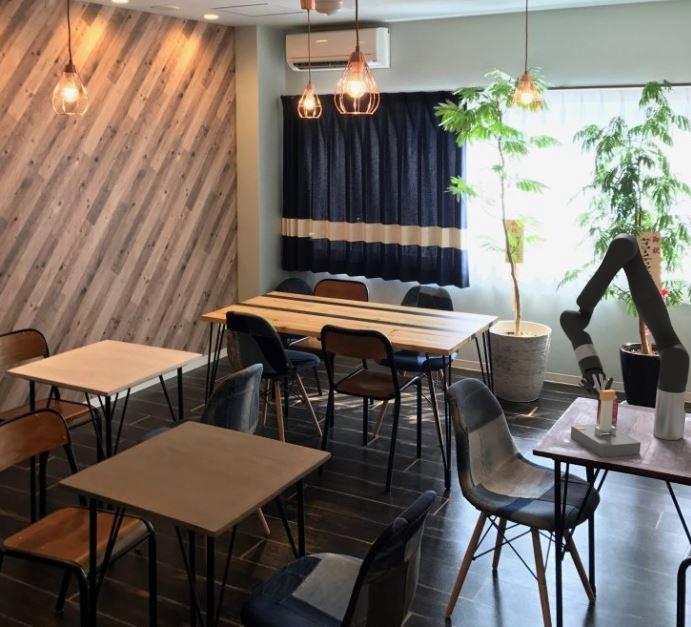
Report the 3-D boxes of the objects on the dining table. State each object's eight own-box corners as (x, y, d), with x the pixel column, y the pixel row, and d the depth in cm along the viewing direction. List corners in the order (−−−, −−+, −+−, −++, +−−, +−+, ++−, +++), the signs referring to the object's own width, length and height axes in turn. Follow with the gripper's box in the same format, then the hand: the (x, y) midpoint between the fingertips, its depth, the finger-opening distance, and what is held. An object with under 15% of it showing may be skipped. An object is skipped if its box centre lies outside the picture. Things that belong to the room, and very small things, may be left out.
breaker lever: (608, 431, 276) (611, 389, 273) (612, 433, 273) (615, 391, 271) (597, 432, 275) (599, 390, 272) (601, 434, 272) (603, 392, 270)
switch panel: (605, 433, 286) (607, 416, 285) (639, 454, 267) (641, 435, 266) (570, 436, 283) (571, 419, 281) (602, 457, 264) (603, 439, 262)
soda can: (600, 422, 298) (603, 391, 295) (619, 427, 293) (621, 395, 291) (592, 427, 292) (595, 396, 290) (611, 432, 288) (614, 400, 286)
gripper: (575, 355, 278) (591, 400, 269) (609, 353, 281) (626, 398, 272) (566, 366, 284) (582, 410, 275) (600, 364, 287) (616, 408, 278)
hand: (604, 404), depth 274 cm, fingers closed
